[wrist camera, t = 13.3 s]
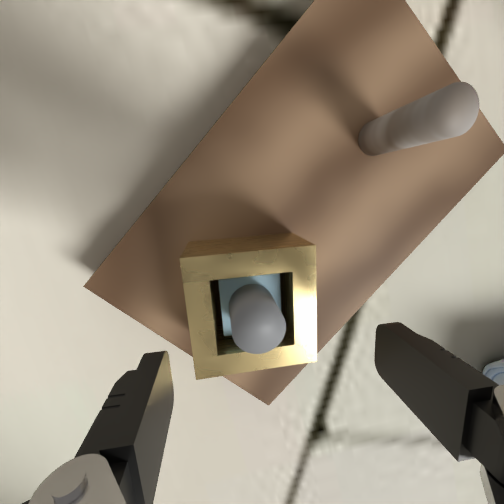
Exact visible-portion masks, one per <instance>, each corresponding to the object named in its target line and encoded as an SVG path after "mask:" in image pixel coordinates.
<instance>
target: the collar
mask: <svg viewBox="0 0 504 504" xmlns="http://www.w3.org/2000/svg"><path fill="white" fill-rule="evenodd" d="M180 265H181V272H182V280H183V287H184V295H185V302H186V309H187V317H188V324H189V331H190V339H191V346H192V353H193V361H194V368H195V375H196V380H198V379H205V378H211V377H218V376H224V375H231V374H237V373H244V372H251V371H257V370H264V369H270V368H277V367H283V366H290V365H296V364H303V363H310V362H316V361H317V300H316V245H315V244H313V243H311V242H309V241H307V240H305V239H303V238H301V237H299V236H298V235H296V234H294V233H282V234H271V235H260V236H248V237H237V238H226V239H214V240H203V241H192V242H188V244H187V246H186V247H185V249H184V251H183V253H182V255H181V257H180ZM275 273H280V293H281V313H282V315H283V317H284V319H285V322H286V332H285V335H284V337H283V339H282V341H281V342H280V344H279V345H278V346H277V347H275V348H274V349H272V350H271V351H269V352H266V353H262V354H251V353H247V352H245V351H243V350H241V349H240V348H239V347H238V346H237V345H236V343H235V342H234V340H233V337H232V335H229V336H224V331H223V321H222V317H221V318H217V312H216V303H215V294H214V284H213V280H219V279H228V278H238V277H247V276H256V275H266V274H275Z"/></svg>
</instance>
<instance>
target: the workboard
mask: <svg viewBox="0 0 504 504" xmlns="http://www.w3.org/2000/svg"><path fill="white" fill-rule="evenodd" d="M503 154H504V144H503V142H502V141H501V139H500V138H499V136H498V135H497V134H496V132H495V131H494V129H493V128H492V126H491V125H490V123H489V122H488V120H487V119H486V118H485V116H484V115H483V113H482V112H481V110H480V109H479V98H478V95H477V92H476V91H475V89H474V88H473V87H472V86H471V85H470V84H468V83H466V82H461V81H460V80H459V78H458V77H457V75H456V74H455V72H454V71H453V69H452V68H451V67H450V65H449V64H448V62H447V61H446V59H445V58H444V56H443V55H442V53H441V52H440V51H439V49H438V48H437V46H436V45H435V43H434V42H433V40H432V39H431V37H430V36H429V35H428V33H427V32H426V30H425V29H424V27H423V26H422V24H421V23H420V21H419V20H418V19H417V17H416V16H415V14H414V13H413V11H412V10H411V8H410V7H409V5H408V4H407V3H406V1H405V0H314V2H313V3H312V4H311V5H310V7H309V8H308V9H307V10H306V11H305V13H304V14H303V15H302V16H301V18H300V19H299V20H298V21H297V23H296V24H295V25H294V26H293V28H292V29H291V30H290V31H289V33H288V34H287V35H286V36H285V37H284V39H283V40H282V41H281V42H280V44H279V45H278V46H277V47H276V49H275V50H274V51H273V52H272V54H271V55H270V56H269V57H268V59H267V60H266V61H265V62H264V63H263V65H262V66H261V67H260V68H259V70H258V71H257V72H256V73H255V75H254V76H253V77H252V78H251V80H250V81H249V82H248V83H247V85H246V86H245V87H244V88H243V89H242V91H241V92H240V93H239V94H238V96H237V97H236V98H235V99H234V101H233V102H232V103H231V104H230V106H229V107H228V108H227V109H226V111H225V112H224V113H223V114H222V115H221V117H220V118H219V119H218V120H217V122H216V123H215V124H214V125H213V127H212V128H211V129H210V130H209V132H208V133H207V134H206V135H205V137H204V138H203V139H202V140H201V141H200V143H199V144H198V145H197V146H196V148H195V149H194V150H193V151H192V153H191V154H190V155H189V156H188V158H187V159H186V160H185V161H184V163H183V164H182V165H181V166H180V167H179V169H178V170H177V171H176V172H175V174H174V175H173V176H172V177H171V179H170V180H169V181H168V182H167V184H166V185H165V186H164V187H163V189H162V190H161V191H160V192H159V193H158V195H157V196H156V197H155V198H154V200H153V201H152V202H151V203H150V205H149V206H148V207H147V208H146V210H145V211H144V212H143V213H142V215H141V216H140V217H139V218H138V219H137V221H136V222H135V223H134V224H133V226H132V227H131V228H130V229H129V231H128V232H127V233H126V234H125V236H124V237H123V238H122V239H121V241H120V242H119V243H118V244H117V245H116V247H115V248H114V249H113V250H112V252H111V253H110V254H109V255H108V257H107V258H106V259H105V260H104V262H103V263H102V264H101V265H100V267H99V268H98V269H97V270H96V271H95V273H94V274H93V275H92V276H91V278H90V279H89V280H88V281H87V283H86V284H85V285H84V286H83V287H85V288H87V289H88V290H90V291H91V292H93V293H94V294H96V295H97V296H99V297H101V298H102V299H104V300H105V301H107V302H108V303H110V304H111V305H113V306H115V307H116V308H118V309H119V310H121V311H122V312H124V313H125V314H127V315H129V316H130V317H132V318H133V319H135V320H136V321H138V322H139V323H141V324H143V325H144V326H146V327H147V328H149V329H150V330H152V331H153V332H155V333H157V334H158V335H160V336H161V337H163V338H164V339H166V340H167V341H169V342H171V343H172V344H174V345H175V346H177V347H178V348H180V349H181V350H183V351H185V352H186V353H188V354H189V355H191V356H192V357H193V353H192V346H191V339H190V331H189V324H188V317H187V309H186V302H185V295H184V287H183V280H182V272H181V265H180V257H181V255H182V253H183V251H184V249H185V247H186V246H187V244H188V242H192V241H203V240H214V239H226V238H237V237H248V236H260V235H271V234H282V233H294V234H296V235H298V236H299V237H301V238H303V239H305V240H307V241H309V242H311V243H313V244H315V245H316V300H317V353H318V352H319V351H320V350H321V349H322V348H323V347H324V346H325V345H326V344H327V342H328V341H329V340H330V339H331V338H332V337H333V336H334V335H335V334H336V333H337V332H338V331H339V330H340V329H341V328H342V326H343V325H344V324H345V323H346V322H347V321H348V320H349V319H350V318H351V317H352V316H353V315H354V314H355V313H356V311H357V310H358V309H359V308H360V307H361V306H362V305H363V304H364V303H365V302H366V301H367V300H368V299H369V298H370V296H371V295H372V294H373V293H374V292H375V291H376V290H377V289H378V288H379V287H380V286H381V285H382V284H383V283H384V281H385V280H386V279H387V278H388V277H389V276H390V275H391V274H392V273H393V272H394V271H395V270H396V269H397V268H398V267H399V265H400V264H401V263H402V262H403V261H404V260H405V259H406V258H407V257H408V256H409V255H410V254H411V253H412V252H413V250H414V249H415V248H416V247H417V246H418V245H419V244H420V243H421V242H422V241H423V240H424V239H425V238H426V237H427V235H428V234H429V233H430V232H431V231H432V230H433V229H434V228H435V227H436V226H437V225H438V224H439V223H440V222H441V220H442V219H443V218H444V217H445V216H446V215H447V214H448V213H449V212H450V211H451V210H452V209H453V208H454V207H455V206H456V204H457V203H458V202H459V201H460V200H461V199H462V198H463V197H464V196H465V195H466V194H467V193H468V192H469V191H470V189H471V188H472V187H473V186H474V185H475V184H476V183H477V182H478V181H479V180H480V179H481V178H482V177H483V176H484V174H485V173H486V172H487V171H488V170H489V169H490V168H491V167H492V166H493V165H494V164H495V163H496V162H497V161H498V159H499V158H500V157H501V156H502V155H503ZM213 284H214V294H215V303H216V312H217V318H221V317H222V311H221V302H220V292H219V282H218V280H213ZM307 364H308V363H303V364H296V365H290V366H283V367H277V368H270V369H264V370H257V371H251V372H244V373H237V374H231V375H224V376H223V377H225V378H227V379H228V380H230V381H231V382H233V383H234V384H236V385H237V386H239V387H241V388H242V389H244V390H245V391H247V392H248V393H250V394H251V395H253V396H255V397H256V398H258V399H259V400H261V401H262V402H264V403H265V404H267V405H270V404H271V402H272V401H273V400H274V399H275V398H276V397H277V396H278V395H279V394H280V393H281V392H282V391H283V390H284V389H285V387H286V386H287V385H288V384H289V383H290V382H291V381H292V380H293V379H294V378H295V377H296V376H297V375H298V374H299V372H300V371H301V370H302V369H303V368H304V367H305V366H306V365H307Z"/></svg>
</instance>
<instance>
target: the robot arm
mask: <svg viewBox="0 0 504 504" xmlns="http://www.w3.org/2000/svg"><path fill="white" fill-rule="evenodd" d="M375 366H376V369H377V371H378V373H379V375H380V376H381V378H382V379H383V380H384V381H385V382H386V383H387V384H388V385H389V387H390V388H391V389H392V390H393V391H394V392H395V393H396V394H397V395H398V396H399V397H400V399H401V400H402V401H403V402H404V403H405V404H406V405H407V406H408V407H409V408H410V410H411V411H412V412H413V413H414V414H415V415H416V416H417V417H418V418H419V419H420V420H421V422H422V423H423V424H424V425H425V426H426V427H427V428H428V429H429V430H430V431H431V433H432V434H433V435H434V436H435V437H436V438H437V439H438V440H439V441H440V442H441V444H442V445H443V446H444V447H445V448H446V449H447V450H448V451H449V452H450V453H451V454H452V456H453V457H454V458H455V459H456V460H457V461H458V462H459V461H464V460H469V459H474V458H476V459H477V460H478V461H479V462H480V463H481V468H480V476H481V480H482V483H483V487H484V490H485V494H486V498H487V501H488V504H504V385H499V384H497V383H496V382H494V381H493V380H491V379H490V378H488V377H486V376H485V375H483V374H482V373H480V372H479V371H477V370H476V369H474V368H473V367H471V366H470V365H468V364H467V363H465V362H464V361H462V360H461V359H459V358H456V356H455V355H453V354H452V353H450V352H449V351H447V350H446V351H445V349H444V348H443V347H441V346H440V345H438V344H437V343H435V342H434V341H432V340H430V339H428V338H426V337H423V336H421V335H419V334H416V333H415V332H413V331H412V330H411V329H409V328H408V327H406V326H405V325H403V324H402V323H400V322H395V323H387V324H380V325H378V326H377V329H376V341H375ZM173 401H174V391H173V383H172V376H171V369H170V362H169V355H168V352H167V351H161V352H153V353H145V354H144V355H143V357H142V359H141V361H140V363H139V365H138V368H137V370H131V371H127V372H126V373H125V374H124V375H123V376H122V377H121V378H120V379H119V380H118V381H117V382H116V383H115V384H114V386H113V388H112V390H111V392H110V393H109V395H108V399H106V401H105V403H104V404H103V406H102V410H100V412H99V414H98V415H97V417H96V419H95V421H94V423H93V425H92V426H91V428H90V430H89V432H88V434H87V436H86V437H85V439H84V441H83V443H82V445H81V447H80V448H79V450H78V452H77V454H76V456H75V458H74V459H72V460H70V461H68V462H66V463H64V464H63V465H61V466H60V467H58V468H57V469H56V470H55V471H53V472H52V473H51V474H50V475H49V476H48V477H47V478H46V479H45V480H44V481H43V482H42V483H41V484H40V485H39V487H38V488H37V490H36V491H35V492H34V494H33V496H32V497H31V499H30V500H28V501H26V502H24V503H22V504H153V500H154V496H155V491H156V486H157V481H158V476H159V472H160V467H161V462H162V457H163V452H164V448H165V443H166V438H167V433H168V428H169V424H170V419H171V414H172V409H173Z"/></svg>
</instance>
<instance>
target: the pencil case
mask: <svg viewBox="0 0 504 504" xmlns="http://www.w3.org/2000/svg"><path fill="white" fill-rule="evenodd" d="M482 374H483V375H485V376H486V377H488V378H490V379H491V380H493V381H494V382H496V383H497V384H499V385H504V359H502V360H499V361H496V362H493V363H490V364H488V365H486V366H485V368H484V370H483V373H482Z"/></svg>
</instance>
